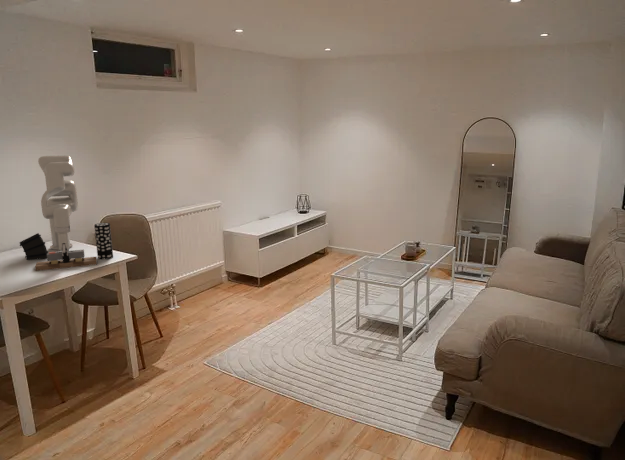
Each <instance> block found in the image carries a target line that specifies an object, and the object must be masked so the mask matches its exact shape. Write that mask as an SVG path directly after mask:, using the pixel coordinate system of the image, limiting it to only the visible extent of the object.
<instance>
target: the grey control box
mask: <svg viewBox="0 0 625 460" xmlns="http://www.w3.org/2000/svg"><path fill="white" fill-rule="evenodd" d="M66 252H67V251H66ZM68 255H69V259H75V260H76V262H79V261H82V258H85V250H84V249H76V250H69V251H68ZM46 260H47V261H51V264H58V260H63V258H62V251H50V252H49V251H48V253H47V259H46Z"/></svg>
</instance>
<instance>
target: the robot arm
mask: <svg viewBox="0 0 625 460" xmlns="http://www.w3.org/2000/svg"><path fill="white" fill-rule="evenodd" d="M38 166H39V167H40V169H41V170H42V172H43V173H44V176H45V185H46V190H45V191H44V192H43V194H42V196H41V200H40V205H41V212H42V213H41V214H42V216H43V218H44V219H47V220H48V221H49V227H50V228H49V229H50V233H51V243H52V245H50V246H49V249H51V250H54V251H57V250H58V252H62V258H63V263H69V262H70V261H69V260H70V259H69V255H68V251H70V248H72V247H73V243H70V233H71V232H72V231H71V219H70V216H71V215H72V213H73V212H76V211H78V209H79V205H78V195H77V187H76V183H75V182H74V181H73V180H71V179H64V177H72V176H74V174H75V166H74V163H73V160H72V158H71V156H70V155H44V156H40V157H39V158H38ZM51 197H52V198H51ZM66 251H67V252H66Z"/></svg>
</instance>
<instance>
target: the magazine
mask: <svg viewBox="0 0 625 460" xmlns="http://www.w3.org/2000/svg"><path fill="white" fill-rule="evenodd" d="M41 236H42V234H40V233H39V232H37V233H35V234H34V235H31V236H29V237H28V238H25V239H23V240H21V241H20V242H19V246H20V247H22V249H23V253H25V257H24V258H25V259H26V261H30V260H31V261H32V260H35V261H36V260H47V253H49V251H48V250H47V249H48V248H47V246H46V241H44V240H43V238H42V237H41Z"/></svg>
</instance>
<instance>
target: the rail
mask: <svg viewBox="0 0 625 460" xmlns="http://www.w3.org/2000/svg"><path fill="white" fill-rule="evenodd" d="M69 261H70V262H69V263H63V260H58V264H51V261H48V260H47V261H39V262H38V261H37V262H36V264H35V265H34V268H35V272H39V271H47V270H57V269H68V268H76V267H87V266H96V265H97V264H98V257H97V256H90V257H89V256H88V257H87V256H86V257H84V258H82V261H79V262H76V260H75V259H70V260H69Z"/></svg>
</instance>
